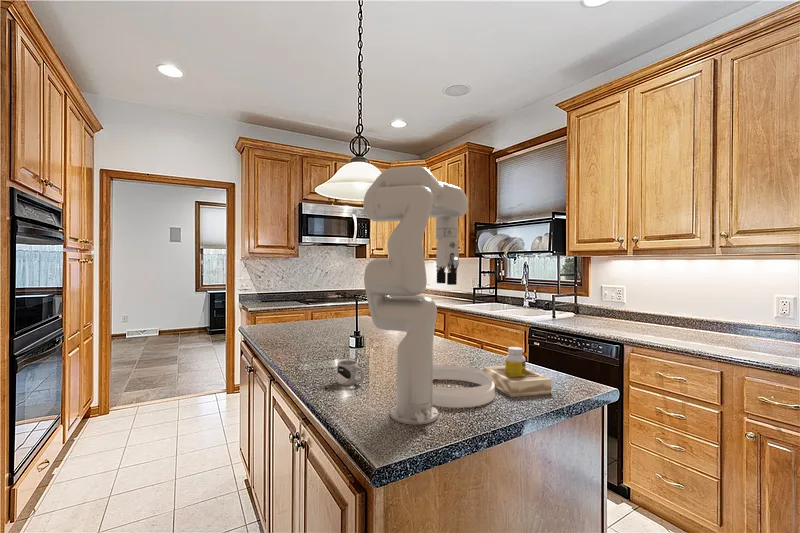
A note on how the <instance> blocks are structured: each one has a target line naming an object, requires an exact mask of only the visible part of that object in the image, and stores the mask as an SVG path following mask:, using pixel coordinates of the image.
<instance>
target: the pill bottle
mask: <svg viewBox="0 0 800 533" xmlns="http://www.w3.org/2000/svg"><path fill="white" fill-rule="evenodd" d="M507 352H508V354H507V355H506V356H505V359H504V366H505V374H506V375H508V376H510V377H516V376H525V368H527V367H526V357H525V356H524V355H523V353H524V348H523V347H519V346H509V347H508V348H507Z"/></svg>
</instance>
